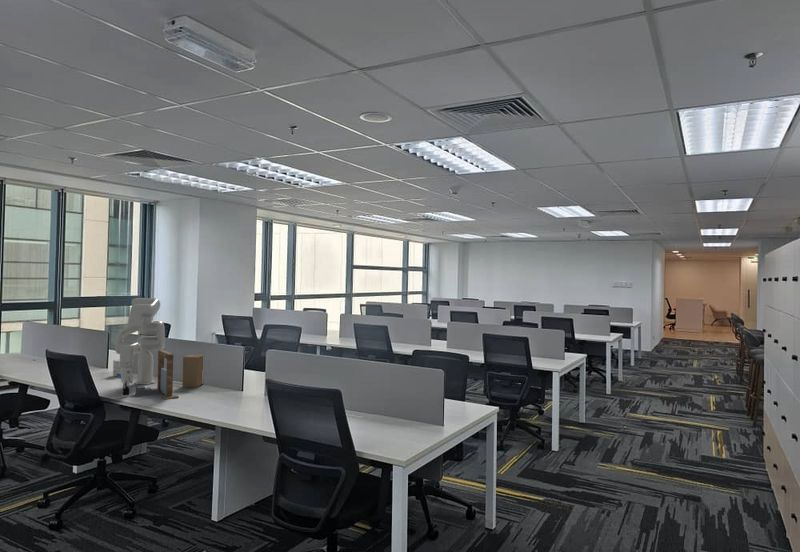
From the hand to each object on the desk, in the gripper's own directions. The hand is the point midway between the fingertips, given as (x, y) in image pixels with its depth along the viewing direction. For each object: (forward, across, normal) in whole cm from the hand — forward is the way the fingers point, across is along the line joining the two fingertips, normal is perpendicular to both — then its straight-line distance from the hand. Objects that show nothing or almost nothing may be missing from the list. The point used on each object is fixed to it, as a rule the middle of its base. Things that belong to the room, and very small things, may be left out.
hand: (125, 394), depth 324 cm
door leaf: (+1, -5, -22) cm, 22 cm away
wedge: (+1, 0, -12) cm, 12 cm away
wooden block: (+1, +12, -43) cm, 44 cm away
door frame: (+1, -4, -21) cm, 21 cm away
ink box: (+1, +72, -11) cm, 73 cm away
